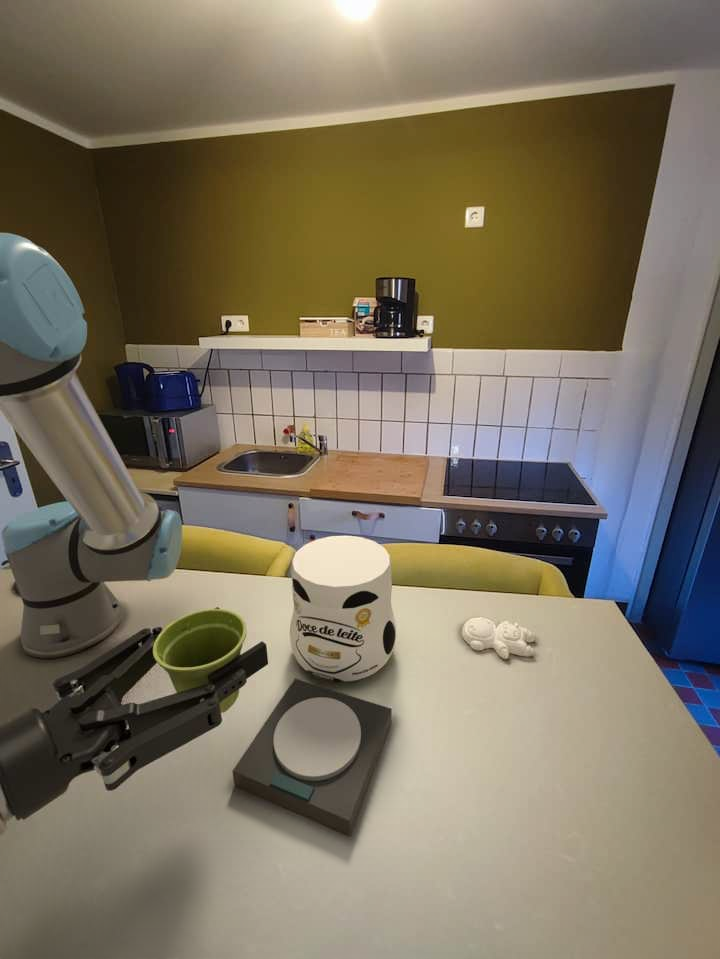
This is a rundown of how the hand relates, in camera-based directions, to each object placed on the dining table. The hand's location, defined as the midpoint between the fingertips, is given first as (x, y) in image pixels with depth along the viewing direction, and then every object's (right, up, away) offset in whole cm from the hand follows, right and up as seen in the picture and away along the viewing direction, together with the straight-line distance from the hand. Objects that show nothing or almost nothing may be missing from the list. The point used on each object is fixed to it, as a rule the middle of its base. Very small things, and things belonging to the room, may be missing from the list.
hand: (241, 634), depth 50 cm
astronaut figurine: (+38, -10, +24) cm, 46 cm away
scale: (+8, -17, +5) cm, 20 cm away
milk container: (+11, -11, +22) cm, 27 cm away
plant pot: (-3, -7, -1) cm, 8 cm away
